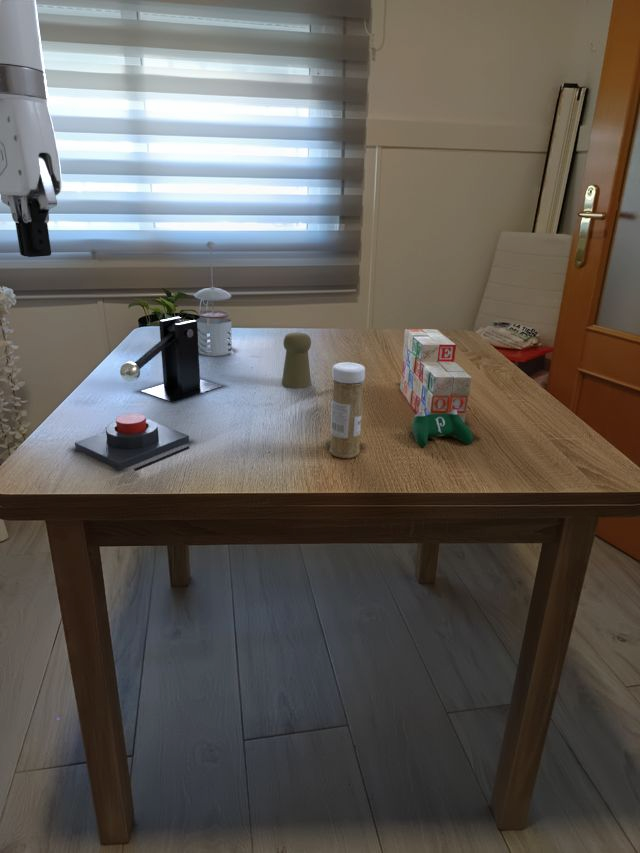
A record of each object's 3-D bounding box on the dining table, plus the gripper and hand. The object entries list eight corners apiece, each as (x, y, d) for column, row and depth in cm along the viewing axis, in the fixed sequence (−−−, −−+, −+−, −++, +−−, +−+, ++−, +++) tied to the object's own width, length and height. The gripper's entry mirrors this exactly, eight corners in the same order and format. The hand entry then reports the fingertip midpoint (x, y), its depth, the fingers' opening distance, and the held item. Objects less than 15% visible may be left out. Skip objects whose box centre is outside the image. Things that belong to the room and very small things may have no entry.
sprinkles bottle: (365, 456, 84) (371, 368, 79) (338, 461, 82) (343, 372, 77) (349, 444, 88) (354, 359, 83) (323, 449, 86) (326, 363, 81)
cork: (300, 396, 108) (302, 338, 103) (274, 390, 110) (274, 333, 106) (317, 388, 112) (319, 332, 108) (292, 382, 115) (293, 328, 111)
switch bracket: (173, 408, 99) (168, 330, 94) (140, 397, 104) (133, 321, 99) (223, 391, 108) (220, 319, 103) (190, 381, 113) (186, 312, 108)
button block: (120, 478, 76) (117, 450, 74) (76, 456, 81) (72, 430, 79) (189, 448, 85) (188, 423, 83) (146, 431, 90) (144, 407, 88)
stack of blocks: (464, 431, 95) (474, 358, 90) (427, 431, 94) (435, 358, 89) (430, 389, 114) (437, 328, 110) (399, 389, 114) (404, 327, 109)
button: (129, 437, 79) (127, 426, 78) (111, 430, 81) (109, 418, 80) (152, 429, 82) (151, 417, 81) (134, 422, 84) (133, 411, 83)
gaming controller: (466, 449, 92) (458, 415, 94) (476, 441, 89) (467, 405, 91) (412, 453, 90) (405, 418, 92) (420, 444, 87) (412, 408, 89)
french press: (201, 363, 125) (195, 243, 116) (184, 350, 134) (178, 238, 125) (243, 358, 130) (241, 243, 120) (224, 346, 139) (221, 238, 129)
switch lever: (133, 387, 95) (124, 372, 93) (121, 383, 97) (112, 368, 95) (193, 335, 103) (186, 320, 101) (181, 332, 104) (174, 317, 102)
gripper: (-54, 88, 67) (-24, 252, 74) (12, 79, 59) (40, 264, 66) (10, 97, 72) (33, 249, 79) (79, 90, 64) (97, 259, 71)
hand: (36, 255), depth 72 cm, fingers closed
